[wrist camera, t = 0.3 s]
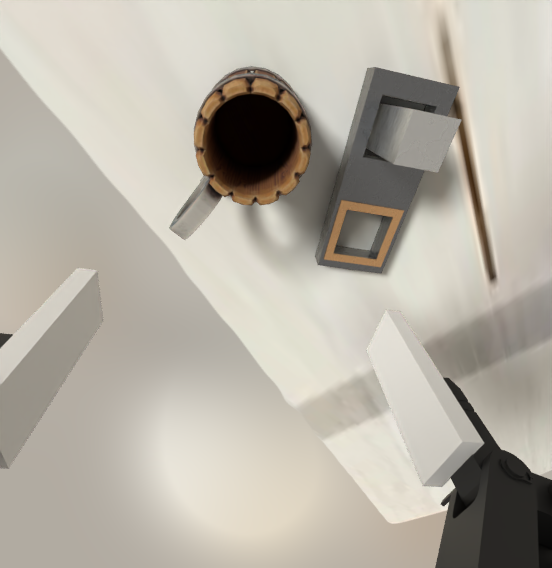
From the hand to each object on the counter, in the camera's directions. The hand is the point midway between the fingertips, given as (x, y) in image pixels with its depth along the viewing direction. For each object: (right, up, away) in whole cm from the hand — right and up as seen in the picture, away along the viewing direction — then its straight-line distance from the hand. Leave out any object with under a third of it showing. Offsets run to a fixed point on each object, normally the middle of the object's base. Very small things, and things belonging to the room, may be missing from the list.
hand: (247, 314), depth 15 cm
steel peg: (+14, +19, +21) cm, 32 cm away
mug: (-3, +17, +21) cm, 27 cm away
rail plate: (+13, +14, +24) cm, 31 cm away
